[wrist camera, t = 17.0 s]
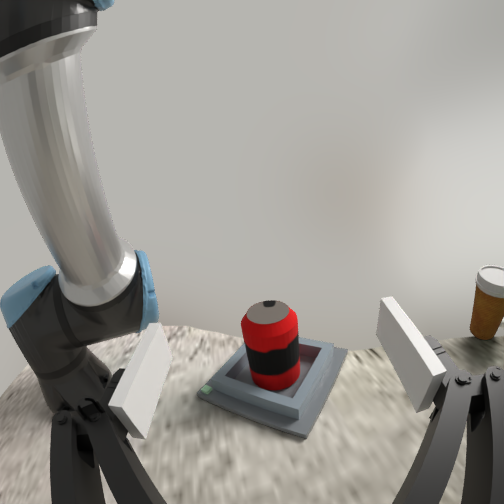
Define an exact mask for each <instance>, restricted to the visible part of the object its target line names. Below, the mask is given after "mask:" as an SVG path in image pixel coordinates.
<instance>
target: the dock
mask: <svg viewBox="0 0 504 504" xmlns="http://www.w3.org/2000/svg"><path fill="white" fill-rule="evenodd" d="M347 353H348V350H347V349H342V348H336V347H334V344H332V343H327V342H321V341H316V340H310V339H306V338H300V337H299V356H300V375H299V378H298V379H297V381H296V382H295V383H294V384H292V385H291V386H289V387H287V388H285V389H281V390H266V389H263V388H261V387H259V386H257V385H256V384H255V383H254V382H253V380H252V376H251V372H250V367H249V362H248V357H247V353H246V348H245V343H244V344H243V345H242V346H241V347H240V348H239V349H238V351H237V352H236V353H235V354H234V355H233V356H232V357H231V358H230V359H229V360H228V361H227V362H226V363H225V364H224V365H223V366H222V367H221V368H220V370H219V371H218V372H217V373H216V374H215V375H214V376H213V377H212V378H211V379H210V380H209V381H208V382H207V383H206V384H205V385H204V386H203V387H202V388H201V389H200V390H199V391H198V392H197V395H198V397H200V398H202V399H204V400H206V401H208V402H210V403H212V404H214V405H217V406H219V407H221V408H223V409H226V410H228V411H230V412H233V413H235V414H238V415H240V416H242V417H245V418H247V419H250V420H253V421H255V422H258V423H261V424H263V425H266V426H269V427H272V428H274V429H277V430H280V431H283V432H286V433H290V434H293V435H296V436H299V437H303V438H306V439H307V437H308V435H309V433H310V432H311V430H312V428H313V426H314V424H315V422H316V420H317V418H318V417H319V415H320V413H321V411H322V409H323V407H324V405H325V403H326V401H327V398H328V396H329V394H330V392H331V390H332V388H333V386H334V384H335V381H336V379H337V377H338V375H339V372H340V370H341V368H342V365H343V363H344V361H345V358H346V356H347Z"/></svg>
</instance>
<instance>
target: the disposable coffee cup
mask: <svg viewBox="0 0 504 504" xmlns="http://www.w3.org/2000/svg"><path fill="white" fill-rule="evenodd" d="M475 279H476V291H475V299H474V306H473V312H472V319H471V324H470V331H471V333H472V334H473V335H474V336H475V337H477V338H479V339H483V340H488V339H491V338H493V337H494V335H495V333H496V331H497V329H498V327H499V325H500V323H501V321H502V319H503V317H504V268H503V267H500V266H494V265H486V266H482V267H481V268H480V269H479V271H478V273H477V274H476V276H475Z"/></svg>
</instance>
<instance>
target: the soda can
mask: <svg viewBox="0 0 504 504" xmlns="http://www.w3.org/2000/svg"><path fill="white" fill-rule="evenodd" d="M241 327H242V333H243V338H244V343H245V348H246V353H247V357H248V362H249V367H250V372H251V376H252V380H253V382H254V383H255V384H256V385H257V386H259V387H261V388H263V389H266V390H281V389H285V388H287V387H289V386H291V385H292V384H294V383H295V382H296V381H297V379H298V378H299V375H300V356H299V337H298V321H297V315H296V313H295V312H294V311H293V310H292V309H290V308H289V307H288V306H287V305H286V304H285V303H283V302H280V301H263V302H259V303H257V304H255V305H253V306H251V307H250V308H249V309H248V311H247V313H246V314H245V316H244V317H243V319H242V321H241Z"/></svg>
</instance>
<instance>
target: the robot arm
mask: <svg viewBox="0 0 504 504" xmlns="http://www.w3.org/2000/svg"><path fill="white" fill-rule="evenodd" d="M113 4H114V0H0V133H1V136H2V140H3V143H4V146H5V150H6V153H7V156H8V158H9V162H10V165H11V167H12V170H13V173H14V176H15V178H16V181H17V183H18V185H19V188H20V190H21V193H22V195H23V198H24V200H25V202H26V205H27V207H28V209H29V211H30V213H31V215H32V218H33V220H34V222H35V224H36V226H37V228H38V230H39V231H40V234H41V235H42V238H43V239H44V241H45V243H46V245H47V247H48V249H49V250H50V252H51V254H52V256H53V257H54V259H55V261H56V263H57V264H58V266H59V268H60V271H59V274H58V275H56V271H55V270H54V268H53V267H52V266H44V267H41V268H39V269H37V270H35V271H33V272H31V273H30V274H28V275H26V276H25V277H23V278H22V279H20V280H19V281H18V282H16V283H15V284H14V285H13V286H11V287H10V288H9V289H8V290H7V291H6V292H5V294H4V295H3V296H2V298H1V302H0V308H1V311H2V314H3V316H4V319H5V321H6V324H7V328H9V330H10V332H11V333H12V336H13V337H14V339H15V341H16V343H17V345H18V346H19V348H20V350H21V351H22V353H23V355H24V357H25V358H26V360H27V362H28V363H29V365H30V367H31V368H32V370H33V371H34V373H35V374H36V376H37V378H38V381H39V384H40V387H41V390H42V393H43V395H44V398H45V401H46V403H47V405H48V407H49V408H50V409H51V411H52V412H53V413H54V414H55V415H54V417H53V419H52V428H51V446H50V482H51V498H52V504H106V503H105V499H104V493H103V488H102V482H101V476H100V469H99V465H100V467H101V470H102V472H103V474H104V477H105V479H106V481H107V483H108V485H109V488H110V490H111V492H112V494H113V496H114V498H115V500H116V502H117V504H167V503H166V502H165V500H164V499H163V497H162V496H161V495H160V493H159V492H158V490H157V489H156V487H155V485H154V484H153V482H152V481H151V479H150V478H149V476H148V474H147V473H146V471H145V469H144V468H143V466H142V464H141V462H140V461H139V459H138V457H137V455H136V453H135V452H134V450H133V448H132V446H131V444H130V442H129V440H128V439H127V438H126V435H127V433H128V432H129V433H130V435H131V436H132V437H133V438H140V439H146V437H147V434H148V431H149V428H150V425H151V421H152V418H153V415H154V412H155V409H156V406H157V403H158V400H159V397H160V394H161V391H162V388H163V385H164V382H165V379H166V376H167V373H168V370H169V367H170V365H171V362H172V359H173V354H172V352H171V349H170V347H169V344H168V341H167V339H166V336H165V333H164V330H163V328H162V325H161V323H157V322H158V319H159V311H158V304H157V299H156V294H155V292H154V291H155V289H154V283H153V279H152V274H151V270H150V265H149V262H148V258H147V255H146V253H145V252H144V251H137V250H133V248H132V246H131V245H130V244H129V243H128V242H127V241H126V240H124V239H122V238H121V237H118V236H117V233H116V230H115V227H114V224H113V220H112V217H111V214H110V211H109V207H108V204H107V200H106V197H105V193H104V189H103V186H102V182H101V178H100V174H99V170H98V165H97V162H96V157H95V152H94V148H93V143H92V138H91V132H90V127H89V121H88V115H87V109H86V102H85V95H84V88H83V78H82V67H81V50H82V47H83V46H84V44H85V43H86V42H87V41H88V39H89V38H90V37H91V36H92V35H93V33H94V32H95V31H96V30H97V12H98V11H102V10H103V11H104V10H106V9H107V8H109V7H111V6H112V5H113ZM144 329H146V331H145V332H144V334H143V336H142V338H141V340H140V342H139V344H138V346H137V348H136V350H135V351H134V353H133V355H132V357H131V359H130V361H129V363H128V365H127V367H126V369H119V370H118V371H117V372H116V373H115V374H114V375H113V376H112V374H111V372H110V370H109V369H108V367H107V366H106V365H105V364H104V363H103V362H102V361H101V360H99V359H98V358H97V357H96V356H95V355H94V354H93V353H92V352H91V351H90V350H89V349H88V348H87V345H91V344H95V343H99V342H102V341H106V340H110V339H113V338H117V337H121V336H124V335H128V334H131V333H140V332H141V331H142V330H144ZM376 335H377V337H378V339H379V341H380V343H381V345H382V346H383V348H384V350H385V352H386V354H387V356H388V358H389V359H390V361H391V363H392V365H393V367H394V369H395V371H396V373H397V375H398V377H399V379H400V381H401V382H402V384H403V386H404V388H405V390H406V392H407V394H408V397H409V399H410V401H411V403H412V405H413V407H414V409H415V411H416V413H417V412H420V411H423V410H426V409H428V408H429V407H430V405H431V404H432V402H434V404H435V406H436V407H435V409H434V410H433V412H432V414H431V416H430V417H429V418H430V419H431V420H430V423H429V425H428V428H427V431H426V434H425V436H424V439H423V441H422V444H421V446H420V449H419V451H418V453H417V456H416V458H415V460H414V462H413V465H412V467H411V469H410V471H409V473H408V475H407V477H406V479H405V481H404V483H403V485H402V487H401V489H400V491H399V492H398V494H397V496H396V498H395V499H394V501H393V503H392V504H439V502H440V500H441V497H442V495H443V493H444V490H445V488H446V486H447V483H448V480H449V478H450V475H451V472H452V470H453V467H454V464H455V461H456V458H457V454H458V451H459V448H460V444H461V441H462V437H463V433H464V429H465V425H466V421H467V452H466V468H465V479H464V487H463V495H462V501H461V504H504V371H503V370H502V369H501V368H500V367H498V366H491V367H489V368H487V370H486V372H485V374H482V375H471V374H470V373H469V372H468V371H465V370H459V369H458V367H457V366H456V365H455V363H454V362H453V360H452V359H451V358H450V356H449V355H448V354H447V352H445V350H444V348H443V347H442V346H441V344H440V343H439V342H438V340H437V339H435V338H434V337H432V336H430V335H429V336H425V337H423V336H422V335H421V333H420V332H419V331H418V330H417V328H416V327H415V325H414V324H413V323H412V321H411V320H410V319H409V317H408V316H407V315H406V313H405V312H404V311H403V310H402V308H401V307H400V306H399V305H398V303H397V302H396V301H395V300H394V298H393V297H392V296H391V297H386V298H381V303H380V311H379V318H378V326H377V332H376Z"/></svg>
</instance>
